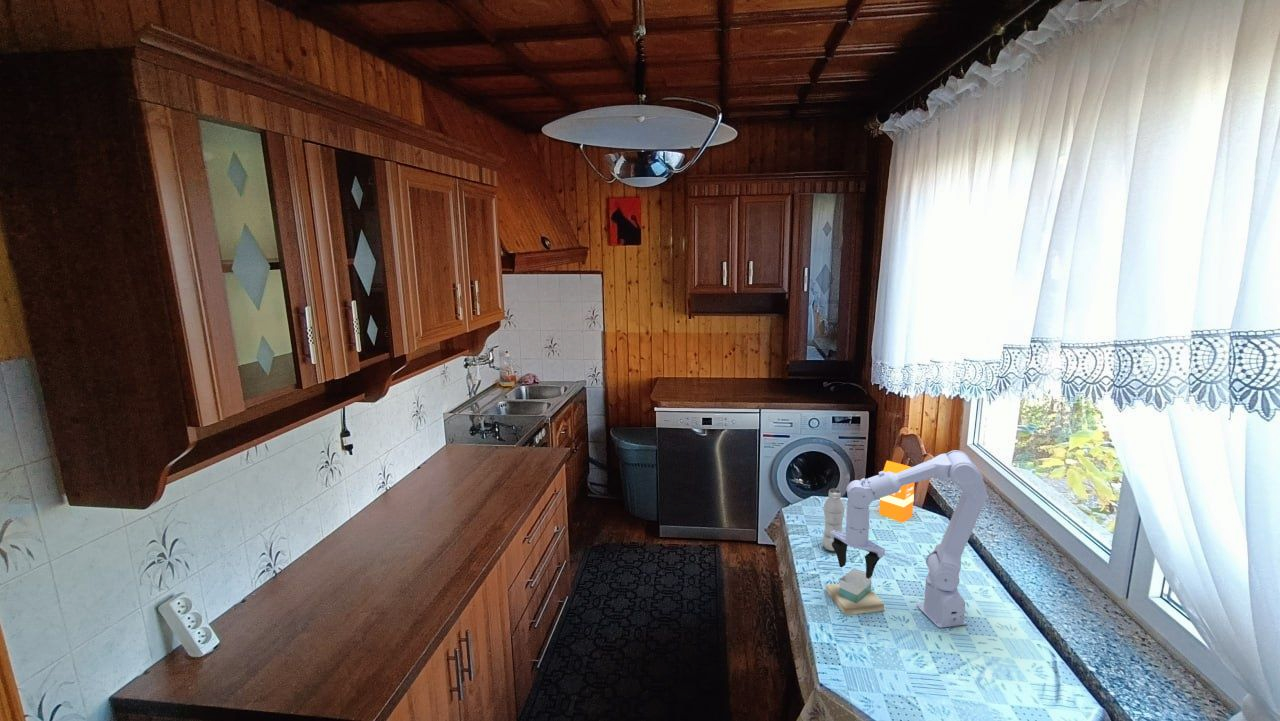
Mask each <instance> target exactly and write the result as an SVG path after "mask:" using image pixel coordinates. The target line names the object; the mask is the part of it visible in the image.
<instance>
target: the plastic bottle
mask: <svg viewBox="0 0 1280 721" xmlns="http://www.w3.org/2000/svg"><path fill="white" fill-rule="evenodd" d="M841 494H842V493H841V490H840V489H837V488H830V489H829V490H828V498H827V499H826V500H825V501H824V504H823V511H824V532H823V535H822V546H823V547H824V549H825V550H827V551H829V552H833V553H836V552H835V550H834V549H833V547H832V542H834V540H832V539H830V532H832V531H833V530H835V531H839V532H843V519H844V515H845V514H844V513H845V509H846V507H845V504H844V502H843V500H842V499H841V498H842V495H841Z"/></svg>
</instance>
